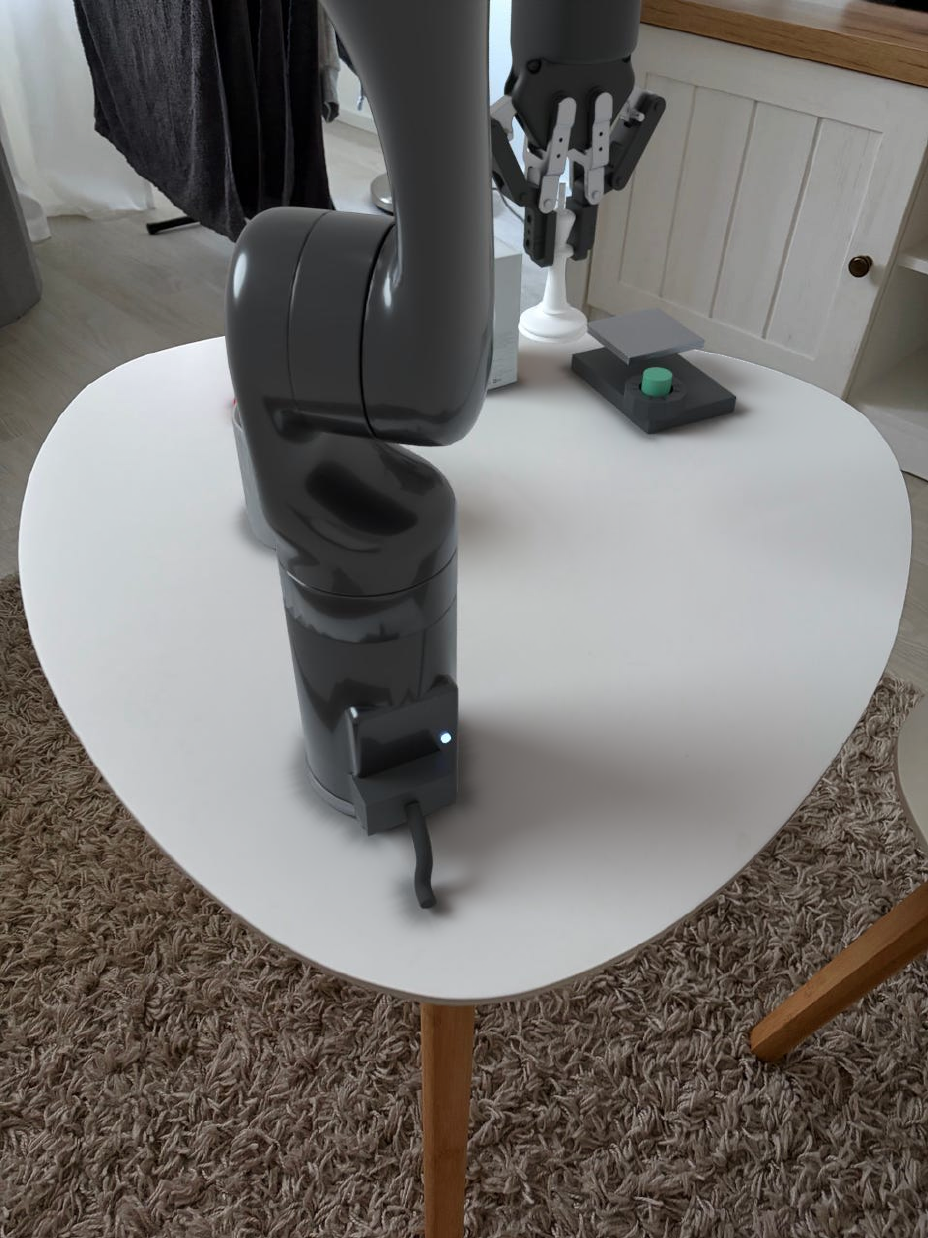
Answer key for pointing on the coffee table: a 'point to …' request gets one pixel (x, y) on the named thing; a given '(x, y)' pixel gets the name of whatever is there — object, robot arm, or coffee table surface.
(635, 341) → the pan
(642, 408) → the scale
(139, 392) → the coffee table surface
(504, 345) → the small box
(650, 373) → the tare button
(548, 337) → the chess piece
